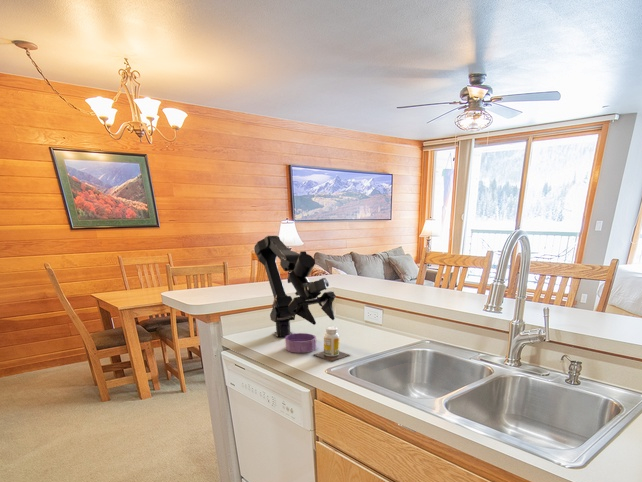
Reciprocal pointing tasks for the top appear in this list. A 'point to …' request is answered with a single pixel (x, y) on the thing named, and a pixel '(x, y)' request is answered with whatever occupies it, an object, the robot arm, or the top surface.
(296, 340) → the dish
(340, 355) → the coaster
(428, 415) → the top surface
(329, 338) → the supplement bottle
